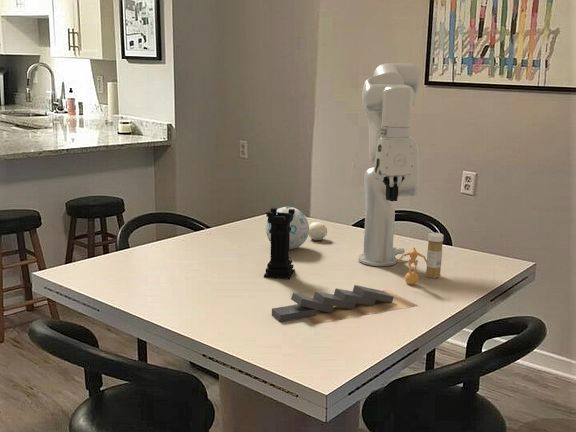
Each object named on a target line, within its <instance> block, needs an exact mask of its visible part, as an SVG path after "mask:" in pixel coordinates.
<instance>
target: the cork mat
mask: <svg viewBox="0 0 576 432" xmlns="http://www.w3.org/2000/svg"><path fill="white" fill-rule="evenodd" d="M382 291H384V292H386V293H388V294H390V295H392V296H393V297H394V298H393V301H392V303H389V302H384V301H380V300H376V301H375V304H374V306H370V305H365V304H359V303H356V304H355V308H354V309H348V308H343V307H337V306H334V308H333V311H332V313H329V312H324V311H320V310H316V316H313V317H307V318H305V320H307V321H308V322H310V323H311V324H313V325H317V324H322V323H323V324H324V323H329V322H334V321H341V320H345V319H351V318H357V317H362V316H368V315H374V314H380V313H381V314H382V313H385V312H391V311H397V310H402V309H408V308H409V309H410V308H414V307H419V305H418V304H416V303H414V302H413V301H412V302H411V301H410V300H408V299H406V298H405V297H402V296H401V295H400V294H397V293H395V292H393V291H392V290H389V289H385V290H382ZM291 305H292V304H290V305H287V306H291ZM294 305H297V303H295V304H294Z"/></svg>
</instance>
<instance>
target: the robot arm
mask: <svg viewBox="0 0 576 432" xmlns="http://www.w3.org/2000/svg"><path fill="white" fill-rule="evenodd" d="M372 75H373V76H371V77H369V78H367V79H366V80H365V81H364V83H363V86H362V91H361V101H362V102H361V103H362V108H363V111H364V114H365V118H366V121H367V125H368V157H369V160H370V162H371V163H373V164H374V166H372V167H370V168H367V170H366V171H365V173H364V176H363V182H364V194H365V215H364V216H365V217H364V234H363V235H364V236H363V252H362V254H360V255H358V259H357V260H358V261H359V262H360V263H361V264H364V265H367V266H373V267H389V266H393V265H395V264H397V262H398V258H397V257H396V256H397V255H403V254H406V250H405V248H403V247H401V248H397V247H394V234H395V218H396V217H395V215H396V212H395V210H396V209H395V206H394V205H393V203H392V202H397V201H398V198H399V197H404V198H405V197H407V198H408V197H410V198H411V197H415V196H416V195H417V194H418V192H419V188H420V163H419V162H420V160H419V158H420V157H419V145H418V142H417V140H416V139H415V138H414V137H412V136H410V130H411V114H412V113H411V112H412V109H413V107H414V106H415V103H416V101H417V97H418V93H419V91H420V87H421V81H422V74H421V70H420V68H419V67H418V65H416V64H414V63H408V62H407V63H399V62H398V63H396V62H389V63H388V62H385V63H382V64H380V65H378V66H377V67H376V68H375V69H374V72H373V74H372Z"/></svg>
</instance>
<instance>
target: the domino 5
mask: <svg viewBox="0 0 576 432" xmlns="http://www.w3.org/2000/svg"><path fill="white" fill-rule="evenodd" d="M352 291H353V292H355V293H357V294H358V295H360V296H362V297H365V298H370V299H375V300H380V301H384V302H389V303H392V301H393V298H394V297H393V296H392V295H390V294H388V293H386V292H384V291H383V290H380V289H375V288H371V287H367V286H362V285H357V284H354V286H353V288H352Z"/></svg>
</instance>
